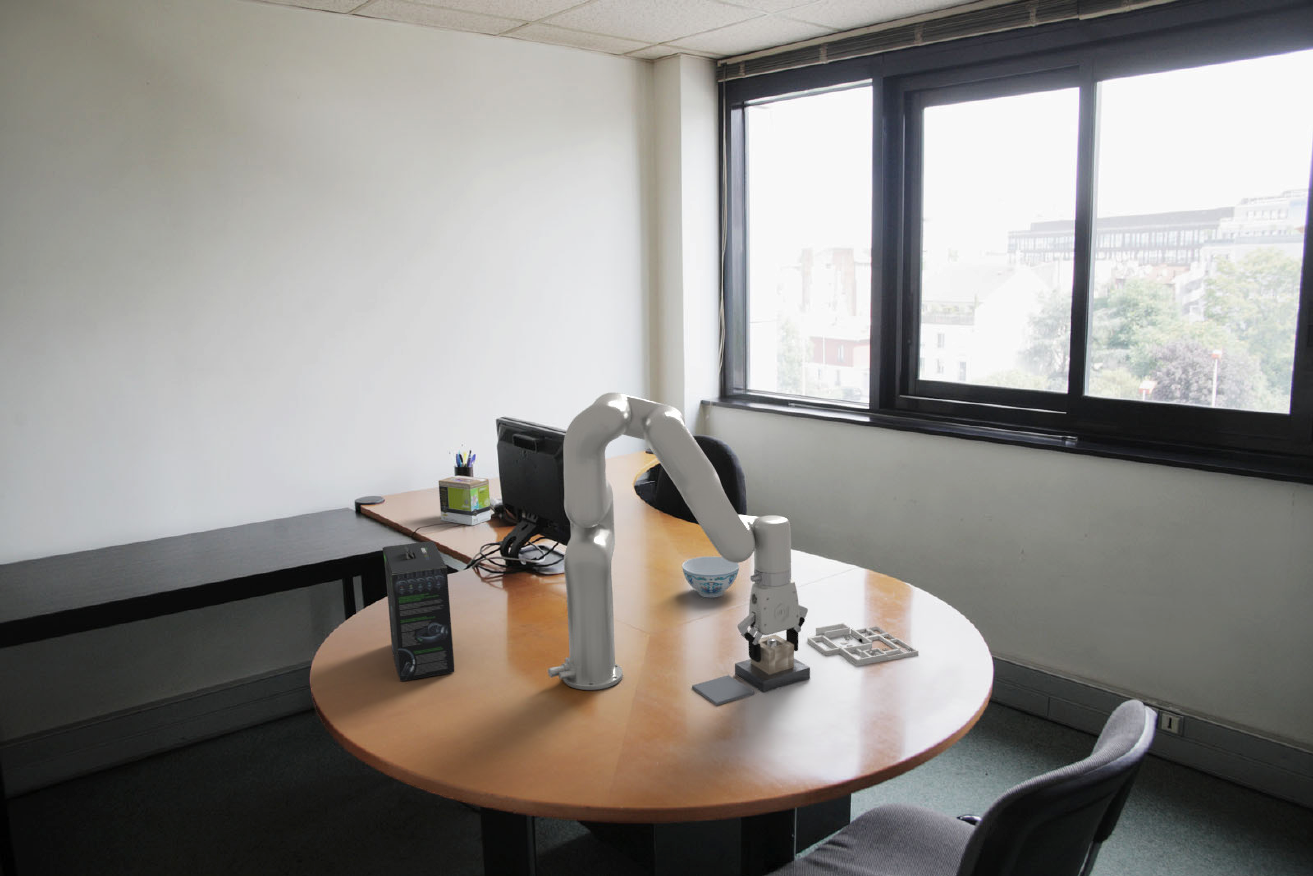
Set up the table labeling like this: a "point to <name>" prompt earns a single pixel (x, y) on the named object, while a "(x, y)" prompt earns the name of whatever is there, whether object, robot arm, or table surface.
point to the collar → (775, 655)
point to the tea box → (464, 500)
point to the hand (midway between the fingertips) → (773, 654)
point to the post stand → (774, 680)
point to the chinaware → (710, 574)
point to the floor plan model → (863, 649)
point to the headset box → (419, 610)
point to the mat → (722, 690)
